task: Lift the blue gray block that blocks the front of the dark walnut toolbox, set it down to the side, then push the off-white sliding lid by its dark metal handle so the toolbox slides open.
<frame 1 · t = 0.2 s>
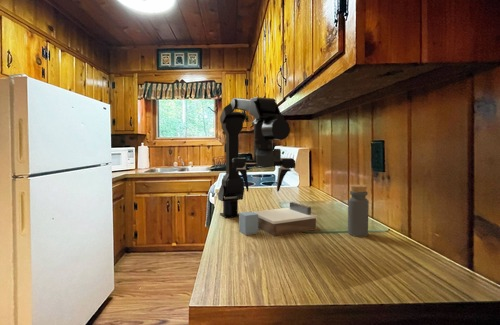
hand: (262, 191, 91), 13 cm above the counter, fingers open, 9 cm apart
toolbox: (283, 227, 99), on the counter
blue gray block: (248, 232, 93), on the counter
bottle: (357, 234, 92), on the counter
lid: (283, 211, 99), point 5 cm above the counter, slide at 0.0 cm
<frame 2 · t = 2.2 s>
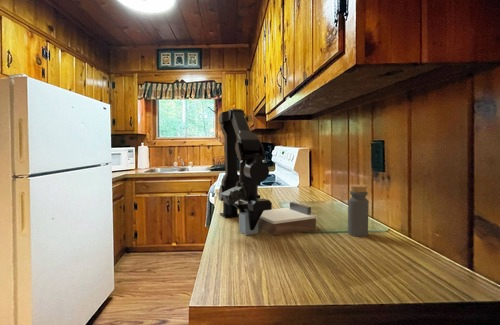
hand: (248, 228, 93), 1 cm above the counter, fingers closed on blue gray block, 4 cm apart
blue gray block: (248, 232, 93), on the counter, touching gripper
everything else where it was.
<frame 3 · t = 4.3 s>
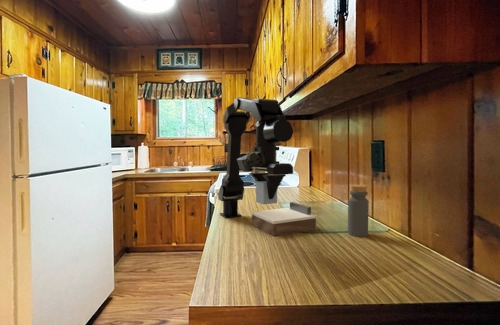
hand: (266, 198, 86), 12 cm above the counter, fingers closed on blue gray block, 4 cm apart
blue gray block: (266, 202, 86), point 11 cm above the counter, touching gripper
everything else where it was.
when the fingers open (2 cm above the counter, at t = 6.6 s): blue gray block drops 1 cm, on the counter.
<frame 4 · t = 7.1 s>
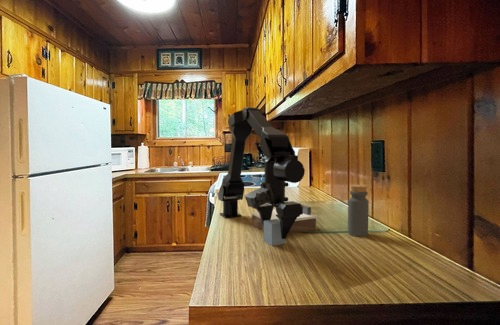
hand: (274, 234, 84), 2 cm above the counter, fingers open, 9 cm apart
blue gray block: (274, 242, 84), on the counter
everything else where it was.
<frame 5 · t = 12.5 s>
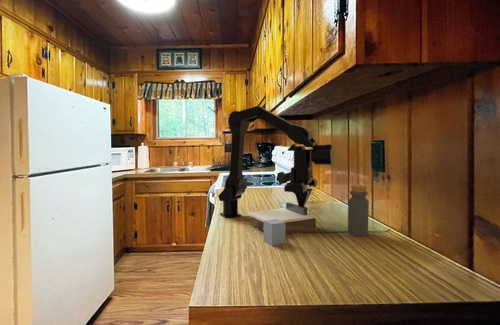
hand: (301, 209, 103), 5 cm above the counter, fingers closed
lid: (279, 211, 98), point 5 cm above the counter, slide at 1.5 cm, touching gripper
everything else where it was.
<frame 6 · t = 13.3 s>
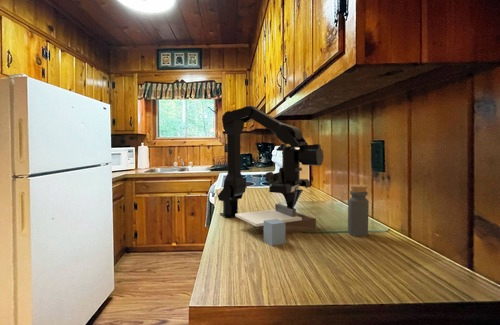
hand: (290, 210, 101), 5 cm above the counter, fingers closed
lid: (267, 213, 96), point 5 cm above the counter, slide at 6.1 cm, touching gripper
everything else where it was.
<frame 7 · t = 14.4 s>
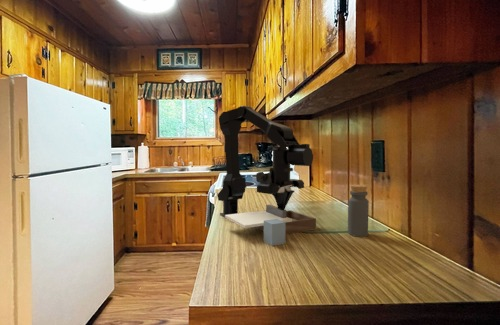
hand: (281, 211, 99), 5 cm above the counter, fingers closed
lid: (257, 214, 95), point 5 cm above the counter, slide at 9.8 cm, touching gripper
everything else where it was.
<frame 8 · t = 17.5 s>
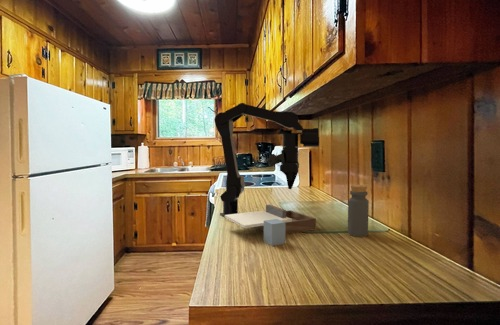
hand: (290, 188, 111), 11 cm above the counter, fingers closed
lid: (257, 214, 95), point 5 cm above the counter, slide at 9.8 cm
everything else where it was.
at the end: lid slide at 9.8 cm; blue gray block inside the target area (0.0 cm from its centre), on the counter; blue gray block tilted 0° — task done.
